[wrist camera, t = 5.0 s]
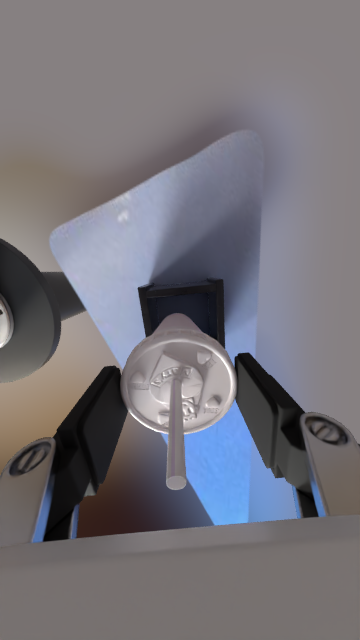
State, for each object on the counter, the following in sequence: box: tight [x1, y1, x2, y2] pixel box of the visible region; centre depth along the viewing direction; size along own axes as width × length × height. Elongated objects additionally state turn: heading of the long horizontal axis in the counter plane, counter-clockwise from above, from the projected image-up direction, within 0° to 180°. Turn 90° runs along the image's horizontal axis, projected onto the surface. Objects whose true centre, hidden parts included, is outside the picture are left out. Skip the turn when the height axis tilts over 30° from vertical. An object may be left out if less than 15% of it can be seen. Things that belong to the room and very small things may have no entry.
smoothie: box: [120, 313, 237, 490], centre depth 11 cm, size 6×6×14 cm
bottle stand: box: [138, 277, 225, 349], centre depth 22 cm, size 9×10×6 cm
